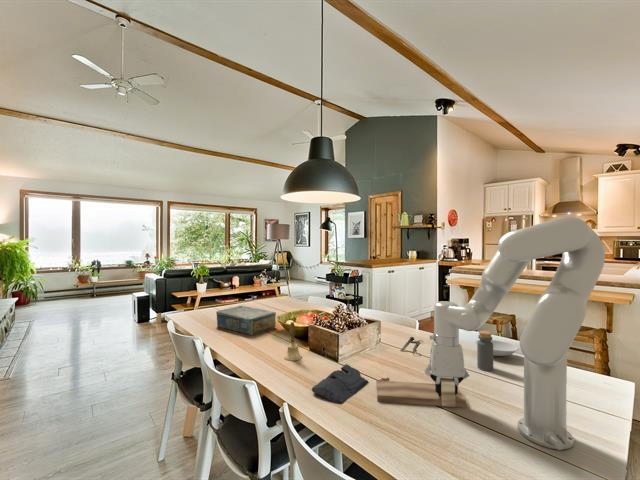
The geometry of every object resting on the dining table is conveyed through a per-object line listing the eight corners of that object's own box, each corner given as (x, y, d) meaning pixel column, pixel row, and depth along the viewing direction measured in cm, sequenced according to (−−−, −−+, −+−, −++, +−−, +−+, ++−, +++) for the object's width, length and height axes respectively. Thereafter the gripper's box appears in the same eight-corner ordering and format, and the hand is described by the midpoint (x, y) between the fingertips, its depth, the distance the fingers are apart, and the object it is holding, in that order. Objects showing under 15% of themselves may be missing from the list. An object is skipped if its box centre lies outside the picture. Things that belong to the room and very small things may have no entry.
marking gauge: (455, 407, 100) (455, 383, 100) (442, 405, 100) (442, 382, 100) (447, 391, 110) (447, 369, 110) (435, 390, 110) (435, 369, 110)
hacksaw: (410, 338, 168) (410, 336, 168) (430, 341, 163) (430, 339, 163) (398, 353, 147) (398, 350, 147) (420, 357, 142) (420, 354, 142)
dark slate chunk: (304, 394, 110) (304, 380, 110) (337, 372, 128) (337, 360, 128) (341, 407, 102) (341, 393, 101) (371, 381, 120) (371, 369, 119)
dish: (472, 356, 142) (472, 345, 142) (477, 347, 154) (477, 337, 154) (518, 365, 132) (518, 353, 132) (519, 354, 144) (519, 343, 144)
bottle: (495, 371, 126) (495, 334, 126) (479, 370, 127) (479, 333, 127) (490, 365, 132) (490, 330, 132) (475, 364, 133) (475, 329, 133)
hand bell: (283, 361, 139) (282, 325, 139) (284, 354, 147) (284, 320, 147) (301, 360, 139) (301, 324, 139) (302, 353, 147) (302, 319, 147)
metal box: (242, 319, 210) (242, 304, 210) (277, 327, 190) (277, 311, 190) (214, 327, 193) (214, 311, 192) (250, 337, 173) (250, 319, 173)
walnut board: (466, 407, 100) (466, 401, 100) (377, 401, 104) (377, 395, 104) (456, 390, 111) (456, 385, 111) (376, 385, 115) (376, 380, 115)
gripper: (421, 342, 100) (421, 399, 101) (477, 344, 98) (477, 403, 98) (418, 335, 108) (418, 387, 108) (469, 337, 105) (469, 391, 105)
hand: (446, 394), depth 103 cm, fingers closed on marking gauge, 3 cm apart
